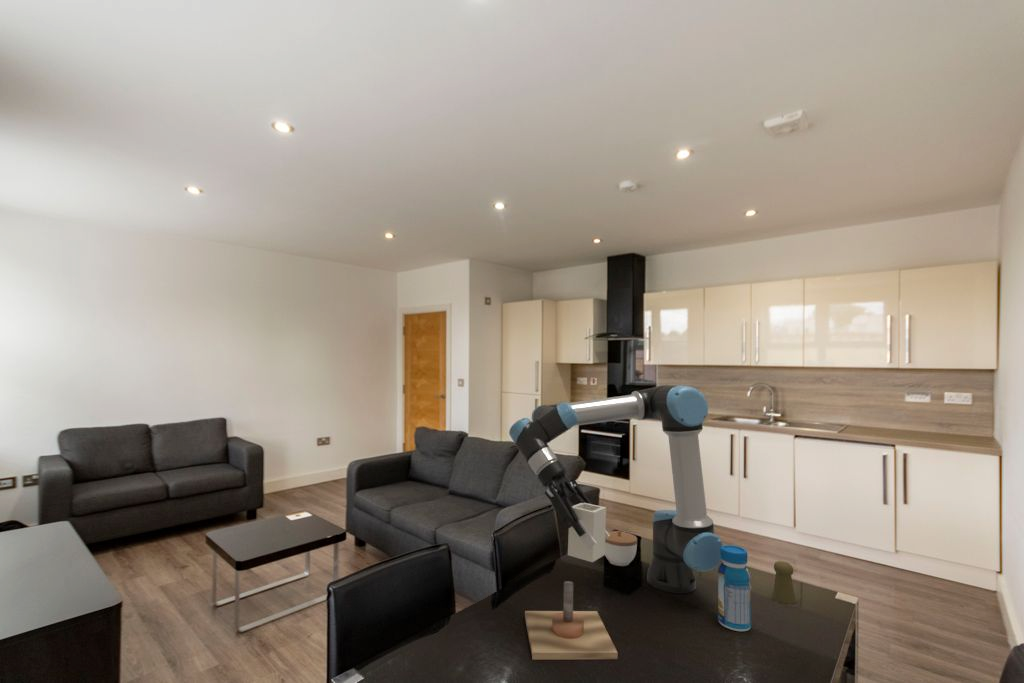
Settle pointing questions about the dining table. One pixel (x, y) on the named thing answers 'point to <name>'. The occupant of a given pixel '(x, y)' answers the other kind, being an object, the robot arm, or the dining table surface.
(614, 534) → the white lidded jar
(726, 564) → the beverage bottle
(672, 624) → the dining table surface
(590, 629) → the post board
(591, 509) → the sleeve
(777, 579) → the olive pepper shaker
